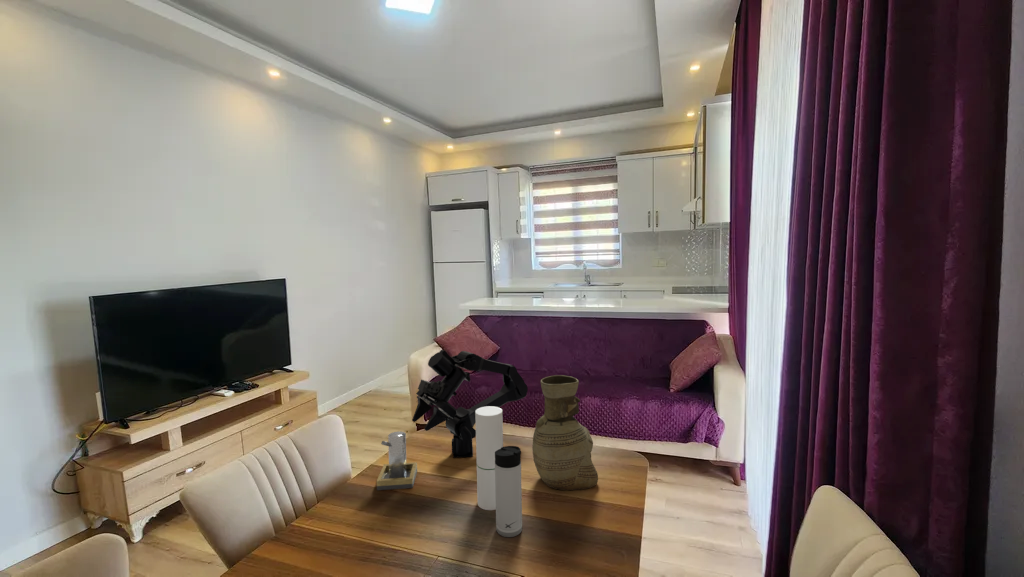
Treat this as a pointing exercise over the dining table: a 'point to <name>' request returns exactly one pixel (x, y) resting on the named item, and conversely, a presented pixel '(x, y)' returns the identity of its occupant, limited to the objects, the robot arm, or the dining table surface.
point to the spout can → (397, 454)
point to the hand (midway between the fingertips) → (419, 425)
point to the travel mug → (508, 491)
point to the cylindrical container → (487, 453)
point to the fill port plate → (397, 483)
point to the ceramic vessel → (563, 438)
